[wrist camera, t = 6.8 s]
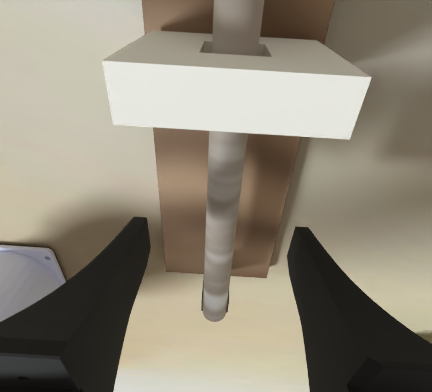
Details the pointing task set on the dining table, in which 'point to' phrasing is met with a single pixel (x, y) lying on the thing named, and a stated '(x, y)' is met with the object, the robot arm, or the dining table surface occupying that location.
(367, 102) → the dining table surface
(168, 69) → the collar
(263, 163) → the slider rail
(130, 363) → the dining table surface
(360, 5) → the dining table surface
